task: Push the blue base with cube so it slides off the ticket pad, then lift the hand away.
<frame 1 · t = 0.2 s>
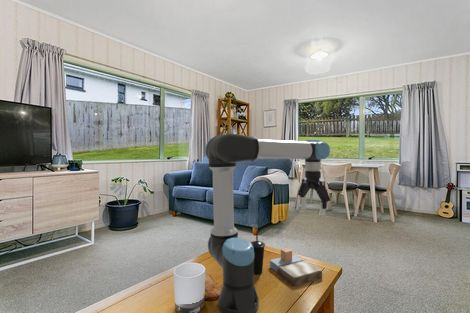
hand: (312, 212, 123), 27 cm above the table, fingers open, 13 cm apart
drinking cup: (257, 272, 116), on the table
blue base with cube: (286, 258, 122), point 4 cm above the table, slide at 0.0 cm
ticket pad: (299, 276, 113), on the table
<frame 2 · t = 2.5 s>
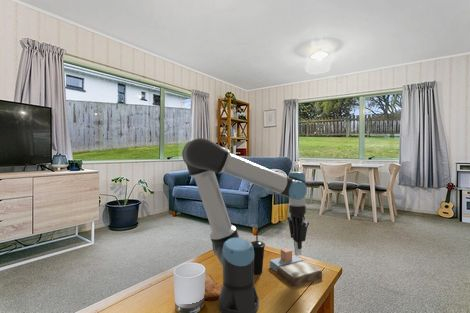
hand: (298, 254, 114), 9 cm above the table, fingers closed
nothing on the table moved.
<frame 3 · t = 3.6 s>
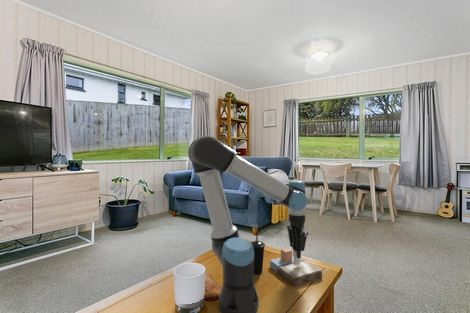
hand: (297, 263, 114), 5 cm above the table, fingers closed
nothing on the table moved.
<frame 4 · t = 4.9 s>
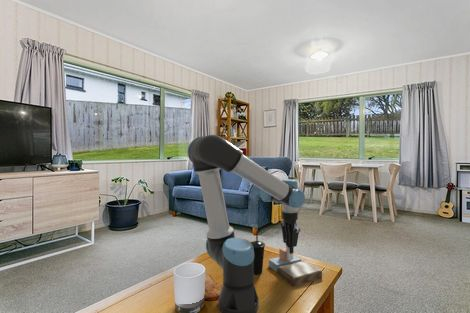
hand: (289, 259, 119), 5 cm above the table, fingers closed
blue base with cube: (285, 257, 122), point 4 cm above the table, slide at 1.0 cm, touching gripper
everything else where it was.
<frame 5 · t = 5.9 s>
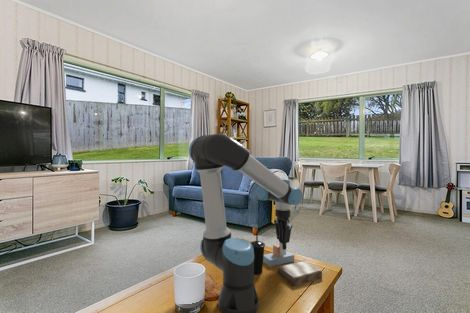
hand: (282, 254, 124), 5 cm above the table, fingers closed
blue base with cube: (278, 253, 128), point 4 cm above the table, slide at 6.8 cm, touching gripper
everything else where it was.
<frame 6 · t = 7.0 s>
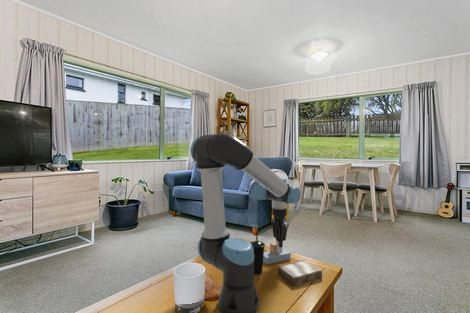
hand: (279, 252, 127), 5 cm above the table, fingers closed
blue base with cube: (275, 251, 130), point 4 cm above the table, slide at 9.8 cm, touching gripper
everything else where it was.
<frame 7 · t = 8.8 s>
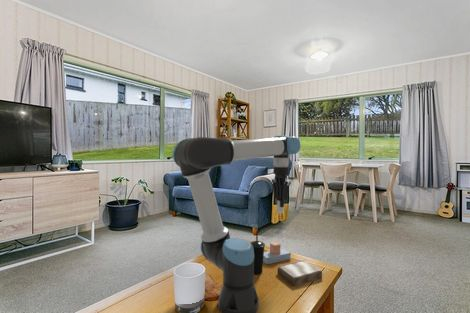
hand: (280, 213, 122), 27 cm above the table, fingers closed
blue base with cube: (275, 251, 130), point 4 cm above the table, slide at 9.8 cm
everything else where it was.
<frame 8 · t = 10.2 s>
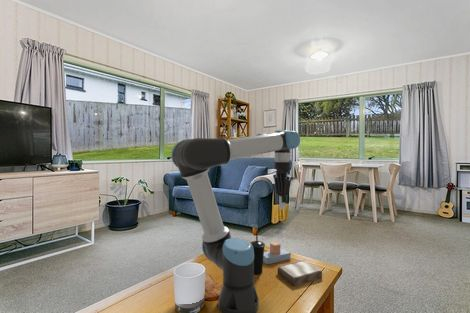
hand: (282, 208, 121), 29 cm above the table, fingers closed
nothing on the table moved.
at the end: blue base with cube slide at 9.8 cm; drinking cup moved 0.2 cm from its start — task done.
